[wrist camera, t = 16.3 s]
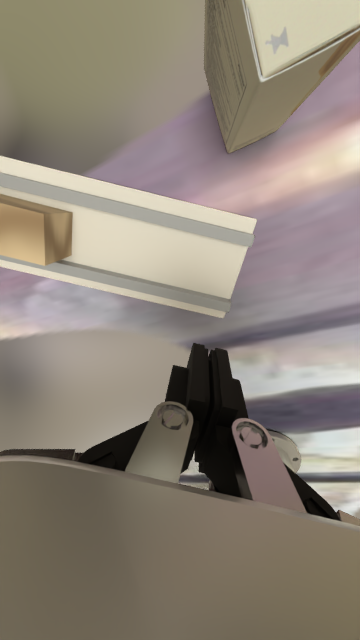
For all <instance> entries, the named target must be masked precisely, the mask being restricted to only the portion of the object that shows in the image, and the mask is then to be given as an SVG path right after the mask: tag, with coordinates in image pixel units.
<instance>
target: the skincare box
mask: <svg viewBox="0 0 360 640" xmlns="http://www.w3.org/2000/svg"><path fill="white" fill-rule="evenodd" d="M359 41H360V0H205V42H204V69H205V74H206V78H207V82H208V86H209V90H210V94H211V98H212V102H213V105H214V109H215V112H216V116H217V119H218V123H219V126H220V130H221V133H222V137H223V140H224V143H225V146H226V149H227V152H228V153H231V152H234V151H236V150H238V149H240V148H243V147H245V146H247V145H249V144H251V143H254V142H256V141H258V140H260V139H262V138H264V137H266V136H268V135H269V134H271V133H273V132H275V131H277V130H278V129H279V128H280V127H281V125H282V124H283V123H284V122H285V121H286V120H287V119H288V118H289V117H290V116H291V115H292V114H293V112H294V111H295V110H296V109H297V108H298V107H299V106H300V105H301V104H302V103H303V102H304V101H305V99H306V98H307V97H308V96H309V95H310V94H311V93H312V92H313V91H314V90H315V89H316V88H317V86H318V85H320V83H321V82H322V81H323V80H324V79H325V78H326V77H327V76H328V75H329V74H330V72H331V71H332V70H333V69H334V68H335V67H336V66H337V65H338V64H339V63H340V61H341V60H342V59H343V58H344V57H345V56H346V55H347V54H348V53H349V52H350V51H351V49H352V48H353V47H354V46H355V45H356V44H357V43H358V42H359Z"/></svg>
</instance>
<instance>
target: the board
mask: <svg viewBox="0 0 360 640" xmlns="http://www.w3.org/2000/svg"><path fill="white" fill-rule="evenodd" d="M0 194H3V195H7V196H11V197H15V198H19V199H23V200H27V201H30V202H34V203H38V204H42V205H46V206H50V207H54V208H58V209H61V210H65V211H69V212H73V218H72V255H71V256H69V257H66V258H64V259H61V260H59V261H56V262H54V263H51V264H49V265H46V266H43V265H39V264H35V263H31V262H27V261H23V260H19V259H15V258H11V257H7V256H3V255H0V267H4V268H8V269H13V270H17V271H21V272H26V273H30V274H34V275H38V276H43V277H47V278H51V279H56V280H60V281H64V282H69V283H73V284H77V285H82V286H86V287H90V288H95V289H99V290H103V291H107V292H112V293H116V294H120V295H125V296H129V297H133V298H138V299H142V300H146V301H151V302H155V303H159V304H164V305H168V306H172V307H177V308H181V309H185V310H189V311H194V312H198V313H202V314H207V315H211V316H215V317H220V318H224V316H225V313H226V312H229V310H230V307H231V301H230V298H231V295H232V292H233V289H234V286H235V283H236V280H237V277H238V274H239V272H240V269H241V266H242V263H243V260H244V257H245V254H246V251H247V248H248V247H251V246H252V243H253V240H254V237H255V235H253V234H252V233H253V230H254V228H255V225H256V222H257V219H253V218H249V217H245V216H241V215H237V214H233V213H229V212H225V211H221V210H217V209H213V208H209V207H205V206H201V205H197V204H193V203H188V202H184V201H180V200H176V199H172V198H168V197H164V196H160V195H156V194H152V193H148V192H144V191H140V190H136V189H132V188H128V187H124V186H120V185H116V184H112V183H108V182H104V181H100V180H96V179H92V178H88V177H84V176H79V175H75V174H71V173H67V172H63V171H59V170H55V169H51V168H47V167H43V166H39V165H35V164H31V163H27V162H23V161H19V160H15V159H11V158H7V157H2V156H0Z"/></svg>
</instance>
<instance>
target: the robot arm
mask: <svg viewBox="0 0 360 640" xmlns="http://www.w3.org/2000/svg"><path fill="white" fill-rule="evenodd" d="M194 451H195V462H199V472H201V473H205V474H206V476H207V477H208V478H209V479H210V482H209V491H208V490H204V489H200V488H195V487H191V486H186V485H182V484H178V482H179V478H180V474H181V473H182V472H184V471H185V470H187V469H188V466H189V463H190V461H191V460H192V457H193V454H194ZM300 464H301V456H300V454H299V451H298V449H297V447H296V445H295V444H294V443H293V442H292V441H291V440H290V439H289V438H287V437H286V436H284V435H282V434H279V433H277V432H273V431H268V430H266V429H265V428H264V427H263V426H262V425H260V424H259V423H258V422H256V421H254V420H251V419H249V418H248V414H247V410H246V405H245V401H244V397H243V392H242V388H241V384H240V381H239V380H237V379H233V378H232V374H231V368H230V363H229V358H228V352H227V350H223V349H218V348H215V350H211V351H210V354H209V357H208V349H205V347H204V345H201V344H196V343H193V346H192V350H191V353H190V357H189V361H188V365H187V368H184V367H180V366H175V365H173V368H172V372H171V376H170V381H169V385H168V389H167V394H166V399H165V402H163V403H161V404H159V405H157V407H156V408H155V409H154V411H153V413H152V416H151V417H150V419H149V421H147V422H145V423H142V424H140V425H138V426H136V427H134V428H132V429H130V430H127V431H126V432H123V433H121V434H119V435H117V436H115V437H112V438H110V439H108V440H106V441H104V442H102V443H100V444H98V445H95V446H93V447H92V448H90V449H88V450H87V451H85V452H84V453H75V449H9V450H4V451H1V452H0V640H360V519H358V518H356V517H354V516H351V515H349V514H347V513H345V512H343V511H340V510H338V511H337V512H335V511H334V509H333V508H332V507H331V506H330V505H329V504H328V503H327V502H326V501H325V500H324V499H323V498H322V497H321V496H320V495H319V494H318V493H317V492H316V491H314V490H313V489H312V488H311V487H310V486H309V485H308V484H307V483H306V482H304V481H303V480H302V479H301V478H300V477H299V476H298V475H297V474H296V473H297V471H298V469H299V468H300Z"/></svg>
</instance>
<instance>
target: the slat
mask: <svg viewBox="0 0 360 640" xmlns="http://www.w3.org/2000/svg"><path fill="white" fill-rule="evenodd" d="M72 218H73V212H69V211H65V210H61V209H58V208H54V207H50V206H46V205H42V204H38V203H34V202H30V201H27V200H23V199H19V198H15V197H11V196H7V195H3V194H0V255H3V256H7V257H11V258H15V259H19V260H23V261H27V262H31V263H35V264H39V265H43V266H46V265H49V264H51V263H54V262H56V261H59V260H61V259H64V258H66V257H69V256H71V255H72Z"/></svg>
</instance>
